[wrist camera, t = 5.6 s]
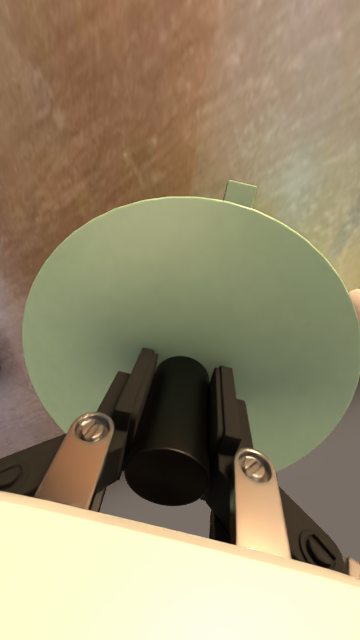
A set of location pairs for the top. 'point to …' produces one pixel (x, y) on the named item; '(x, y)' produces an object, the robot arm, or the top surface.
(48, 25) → the top surface
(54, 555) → the robot arm
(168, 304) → the lid
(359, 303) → the smoothie
